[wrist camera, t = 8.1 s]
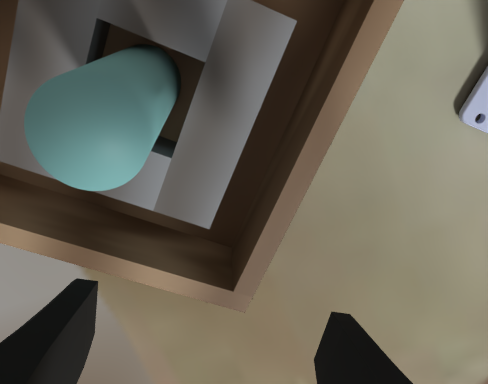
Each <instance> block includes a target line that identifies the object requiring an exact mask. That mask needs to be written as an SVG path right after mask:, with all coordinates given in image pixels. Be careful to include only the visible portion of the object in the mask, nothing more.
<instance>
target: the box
mask: <svg viewBox="0 0 488 384" xmlns="http://www.w3.org/2000/svg"><path fill="white" fill-rule="evenodd" d="M403 1H404V0H0V243H2V244H6V245H9V246H13V247H16V248H20V249H23V250H27V251H30V252H34V253H37V254H41V255H44V256H48V257H51V258H55V259H58V260H62V261H65V262H69V263H72V264H76V265H79V266H83V267H86V268H90V269H93V270H97V271H100V272H104V273H107V274H111V275H114V276H118V277H121V278H125V279H128V280H132V281H135V282H139V283H142V284H145V285H149V286H152V287H156V288H159V289H163V290H166V291H170V292H173V293H177V294H180V295H184V296H187V297H191V298H194V299H198V300H201V301H205V302H208V303H212V304H215V305H219V306H222V307H226V308H229V309H233V310H236V311H240V312H243V313H245V312H246V310H247V308H248V306H249V304H250V302H251V300H252V298H253V296H254V294H255V292H256V290H257V288H258V286H259V284H260V282H261V280H262V278H263V276H264V274H265V272H266V270H267V268H268V266H269V264H270V263H271V261H272V259H273V257H274V255H275V253H276V251H277V249H278V247H279V245H280V243H281V241H282V239H283V237H284V235H285V233H286V231H287V229H288V227H289V225H290V223H291V221H292V219H293V217H294V215H295V213H296V211H297V209H298V208H299V206H300V204H301V202H302V200H303V198H304V196H305V194H306V192H307V190H308V188H309V186H310V184H311V182H312V180H313V178H314V176H315V174H316V172H317V170H318V168H319V166H320V164H321V162H322V160H323V158H324V156H325V154H326V153H327V151H328V149H329V147H330V145H331V143H332V141H333V139H334V137H335V135H336V133H337V131H338V129H339V127H340V125H341V123H342V121H343V119H344V117H345V115H346V113H347V111H348V109H349V107H350V105H351V103H352V101H353V99H354V98H355V96H356V94H357V92H358V90H359V88H360V86H361V84H362V82H363V80H364V78H365V76H366V74H367V72H368V70H369V68H370V66H371V64H372V62H373V60H374V58H375V56H376V54H377V52H378V50H379V48H380V46H381V45H382V43H383V41H384V39H385V37H386V35H387V33H388V31H389V29H390V27H391V25H392V23H393V21H394V19H395V17H396V15H397V13H398V11H399V9H400V7H401V5H402V3H403ZM138 44H148V45H153V46H156V47H158V48H160V49H162V50H164V51H165V52H166V53H168V54H169V55H170V56H171V57H172V59H173V60H174V61H175V63H176V65H177V67H178V69H179V72H180V76H181V89H180V93H179V96H178V98H177V100H176V102H175V104H174V106H173V108H172V110H171V112H170V114H169V116H168V118H167V120H166V122H165V124H164V126H163V128H162V130H161V132H160V134H159V135H158V137H157V139H156V141H155V143H154V145H153V147H152V149H151V151H150V153H149V155H148V157H147V159H146V161H145V163H144V165H143V167H142V168H141V170H140V171H139V172H138V173H137V175H136V176H135V177H134V178H132V179H131V180H130V181H128V182H127V183H125V184H123V185H121V186H119V187H117V188H113V189H110V190H104V191H87V190H82V189H78V188H74V187H71V186H69V185H67V184H64V183H63V182H61V181H59V180H57V179H56V178H54V177H53V176H52V175H50V174H49V173H48V172H47V171H46V170H45V169H44V168H43V167H42V166H41V165H40V164H39V163H38V161H37V160H36V158H35V157H34V155H33V154H32V152H31V150H30V148H29V145H28V143H27V140H26V135H25V129H24V117H25V111H26V108H27V105H28V102H29V100H30V99H31V97H32V95H33V94H34V93H35V91H36V90H37V89H38V88H39V87H40V86H41V85H42V84H44V83H45V82H46V81H48V80H50V79H52V78H54V77H56V76H58V75H61V74H63V73H66V72H68V71H71V70H73V69H76V68H78V67H81V66H83V65H86V64H88V63H91V62H93V61H96V60H98V59H101V58H103V57H106V56H108V55H111V54H113V53H116V52H118V51H121V50H123V49H126V48H128V47H131V46H134V45H138Z"/></svg>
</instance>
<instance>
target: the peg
mask: <svg viewBox="0 0 488 384" xmlns="http://www.w3.org/2000/svg"><path fill="white" fill-rule="evenodd" d="M180 89H181V76H180V72H179V69H178V67H177V65H176V63H175V61H174V60H173V59H172V57H171V56H170V55H169V54H168V53H166V52H165V51H164V50H162V49H160V48H158V47H156V46H153V45H148V44H138V45H134V46H131V47H128V48H126V49H123V50H121V51H118V52H116V53H113V54H111V55H108V56H106V57H103V58H101V59H98V60H96V61H93V62H91V63H88V64H86V65H83V66H81V67H78V68H76V69H73V70H71V71H68V72H66V73H63V74H61V75H58V76H56V77H54V78H52V79H50V80H48V81H46V82H45V83H44V84H42V85H41V86H40V87H39V88H38V89H37V90H36V91H35V93H34V94H33V95H32V97H31V99H30V100H29V102H28V105H27V108H26V111H25V117H24V129H25V135H26V140H27V143H28V145H29V148H30V150H31V152H32V154H33V155H34V157H35V158H36V160H37V161H38V163H39V164H40V165H41V166H42V167H43V168H44V169H45V170H46V171H47V172H48V173H49V174H50V175H52V176H53V177H54V178H56V179H57V180H59V181H61V182H63V183H64V184H67V185H69V186H71V187H74V188H78V189H82V190H87V191H104V190H110V189H113V188H117V187H119V186H121V185H123V184H125V183H127V182H128V181H130V180H131V179H132V178H134V177H135V176H136V175H137V173H138V172H139V171H140V170H141V168H142V167H143V165H144V163H145V161H146V159H147V157H148V155H149V153H150V151H151V149H152V147H153V145H154V143H155V141H156V139H157V137H158V135H159V134H160V132H161V130H162V128H163V126H164V124H165V122H166V120H167V118H168V116H169V114H170V112H171V110H172V108H173V106H174V104H175V102H176V100H177V98H178V96H179V93H180Z"/></svg>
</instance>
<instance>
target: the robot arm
mask: <svg viewBox="0 0 488 384" xmlns="http://www.w3.org/2000/svg"><path fill="white" fill-rule="evenodd" d="M478 114H481V117H480V119H479V120H478V121H476V122H475V118H476V116H477V115H478ZM459 119H460V121H462V122H463V123H465V124H468V125H470V126H472V127H474V128H477V129H479V130H481V131H483V132H486V133H488V66H487V68H486V69H485V71H484V73H483V74H482V76H481V77H480V79H479V81H478V82H477V84H476V85H475V87H474V89H473V90H472V92H471V94H470V95H469V97H468V98H467V100H466V102H465V103H464V105H463V106H462V108H461V110H460V112H459ZM97 291H98V281H92V280H84V279H75V280H74V281H72V282H71V283H70V284H69V285H68V286H67V287H66V288H65V289H64V290H63V291H62V292H61V293H60V294H58V295H57V296H56V297H55V298H54V299H53V300H52V301H51V302H50V303H49V304H47V305H46V306H45V307H44V308H43V309H42V310H40V311H39V312H38V313H37V314H36V315H35V316H33V317H32V318H31V319H30V320H29V321H27V322H26V323H25V324H24V325H23V326H21V327H20V328H19V329H18V330H16V331H15V332H14V333H13V334H11V335H10V336H8V337H7V338H6V339H5V340H3V341H2V342H1V343H0V384H77V381H78V379H79V377H80V375H81V372H82V370H83V368H84V365H85V362H86V359H87V356H88V353H89V350H90V347H91V344H92V340H93V337H94V333H95V319H96V305H97ZM314 363H315V371H316V379H317V384H413V383H412V382H411V381H410V380H409V379H408V378H407V377H406V376H405V375H404V374H403V373H402V372H401V371H400V370H399V369H398V367H397V366H396V365H395V364H394V363H393V362H392V361H391V360H390V359H389V358H388V356H387V355H386V354H385V353H384V352H383V351H382V350H381V349H380V348H379V346H378V345H377V344H376V343H375V342H374V341H373V339H372V338H371V337H370V336H369V335H368V334H367V333H366V331H365V330H364V329H363V328H362V327H361V326H360V325H359V324H358V322H357V321H356V320H355V319H354V318H353V317H352V316H351V315H350V314H345V313H337V312H331V315H330V317H329V320H328V323H327V325H326V328H325V331H324V334H323V336H322V339H321V342H320V344H319V347H318V350H317V353H316V355H315V358H314Z"/></svg>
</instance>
